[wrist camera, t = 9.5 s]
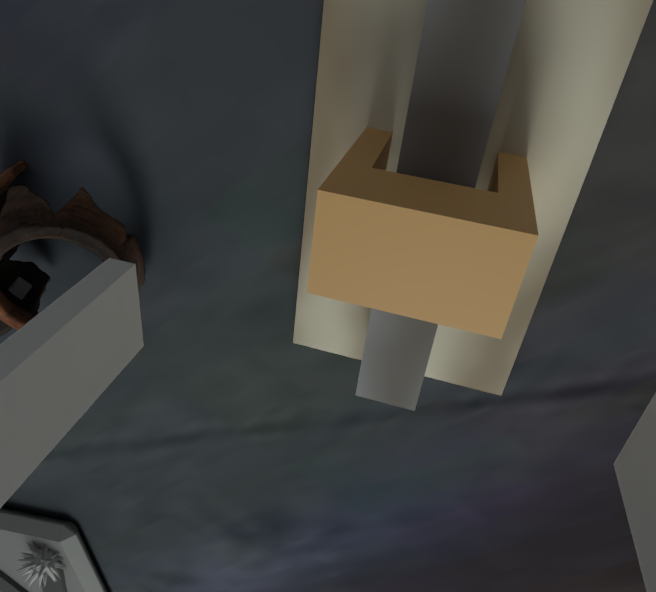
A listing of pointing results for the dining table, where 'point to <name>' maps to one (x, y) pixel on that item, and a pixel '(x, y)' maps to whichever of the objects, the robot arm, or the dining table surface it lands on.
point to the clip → (423, 240)
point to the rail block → (460, 148)
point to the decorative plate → (44, 556)
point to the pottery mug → (40, 223)
